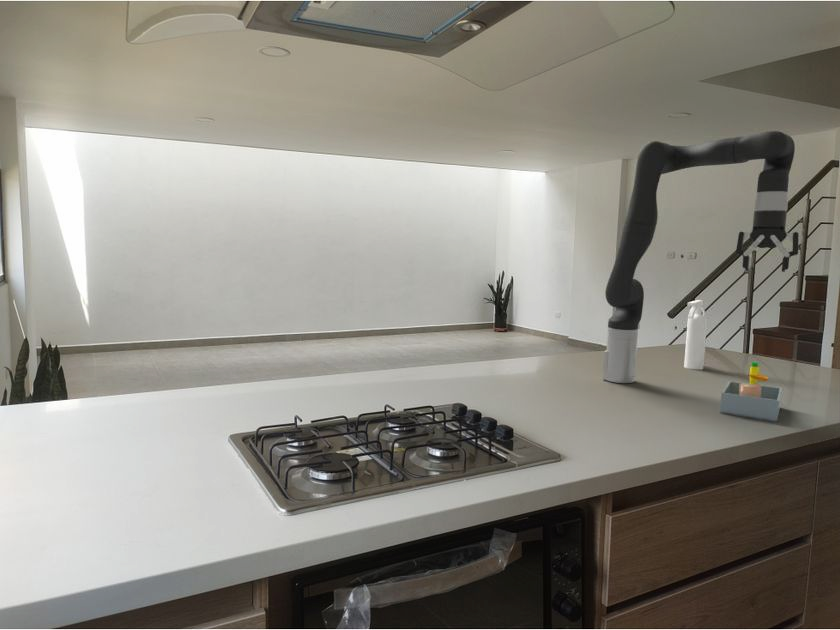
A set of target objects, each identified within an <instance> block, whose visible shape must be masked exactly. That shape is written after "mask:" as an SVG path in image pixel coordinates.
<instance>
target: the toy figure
mask: <svg viewBox="0 0 840 630" xmlns="http://www.w3.org/2000/svg"><path fill="white" fill-rule="evenodd" d="M747 376H748V378H749V383H751V384H757V383H758V381H759V382H760V381H761V382H767V381H768V379H769V377H768V376H766V375H763V374H760V365H759V362H758V361H751V365H750V368H749V374H747Z"/></svg>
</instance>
